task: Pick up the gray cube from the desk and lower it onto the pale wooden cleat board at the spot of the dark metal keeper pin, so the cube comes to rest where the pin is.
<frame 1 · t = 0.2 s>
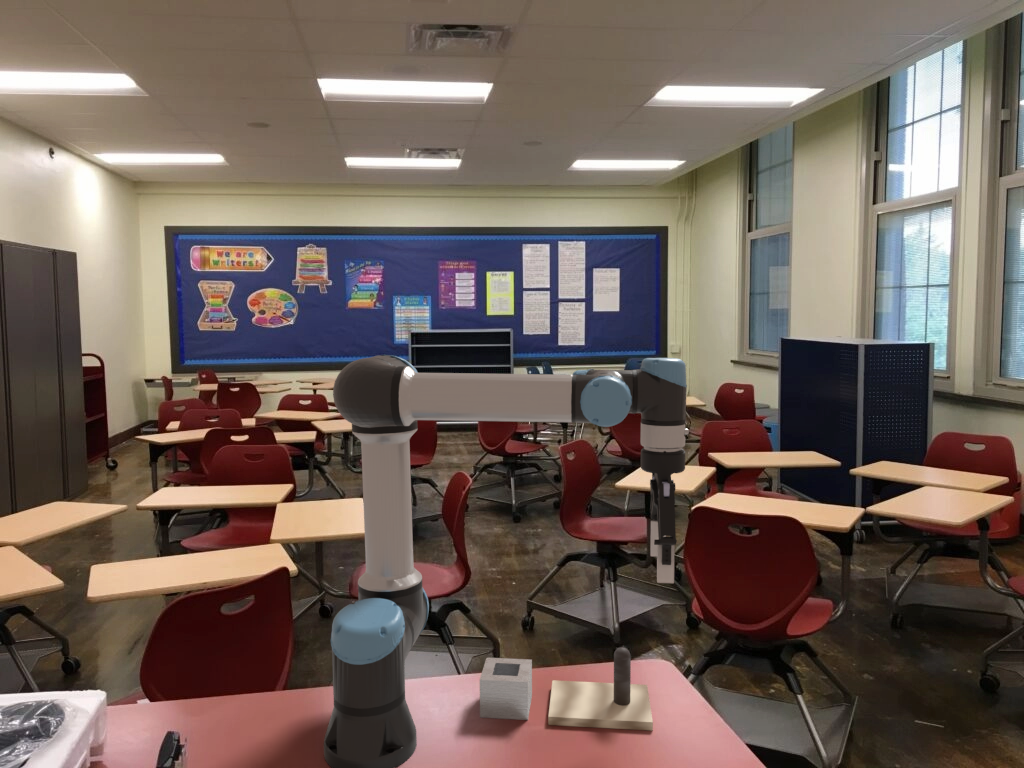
hand: (661, 568, 126), 27 cm above the table, tool pointing down, fingers open, 13 cm apart
gray cube: (506, 706, 133), on the table
cleat board: (599, 707, 132), on the table
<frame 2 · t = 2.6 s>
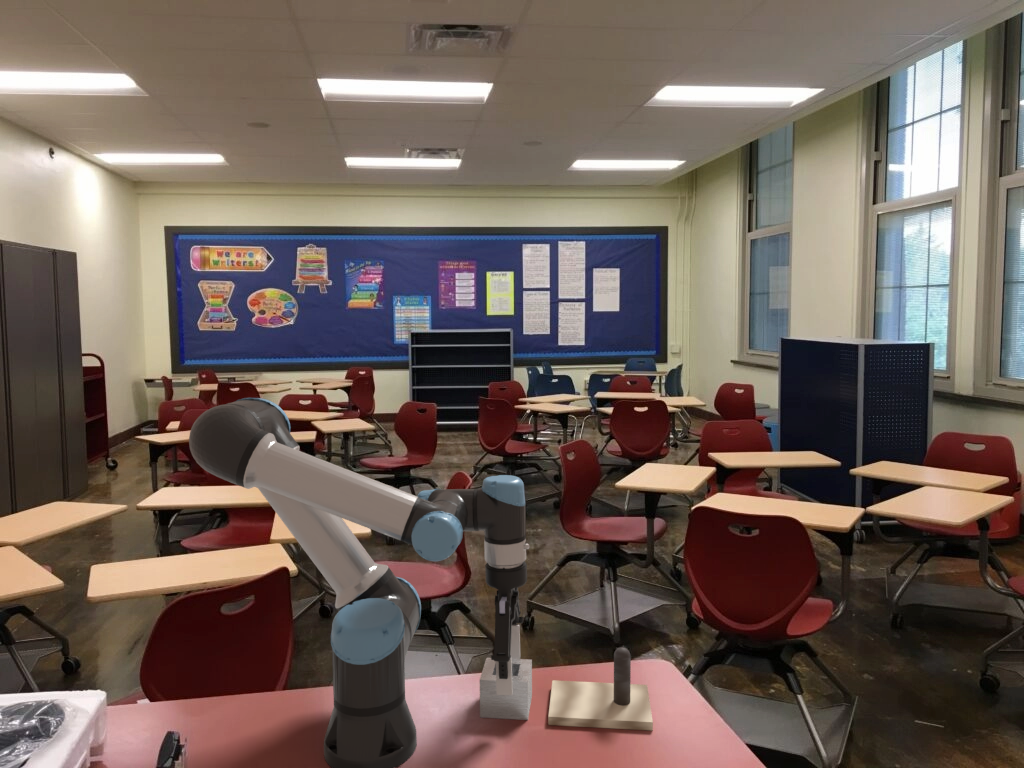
hand: (509, 675, 132), 6 cm above the table, tool pointing down, fingers open, 13 cm apart
nothing on the table moved.
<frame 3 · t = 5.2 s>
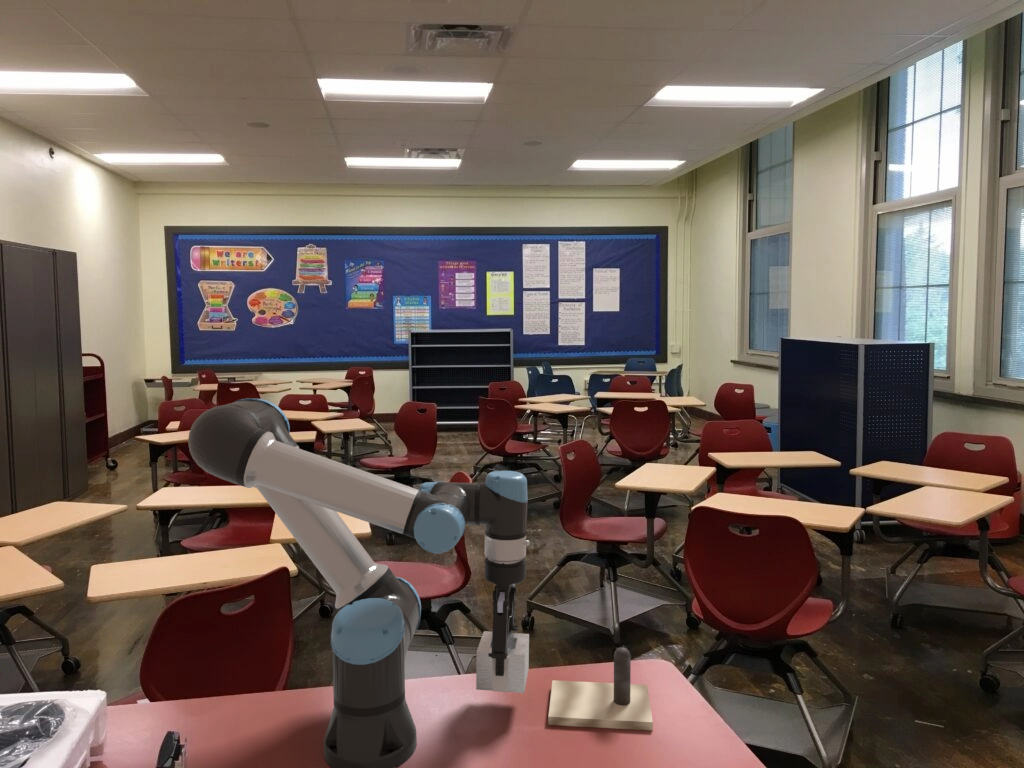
hand: (503, 677, 132), 5 cm above the table, tool pointing down, fingers closed on gray cube, 9 cm apart
gray cube: (503, 679, 132), point 5 cm above the table, touching gripper
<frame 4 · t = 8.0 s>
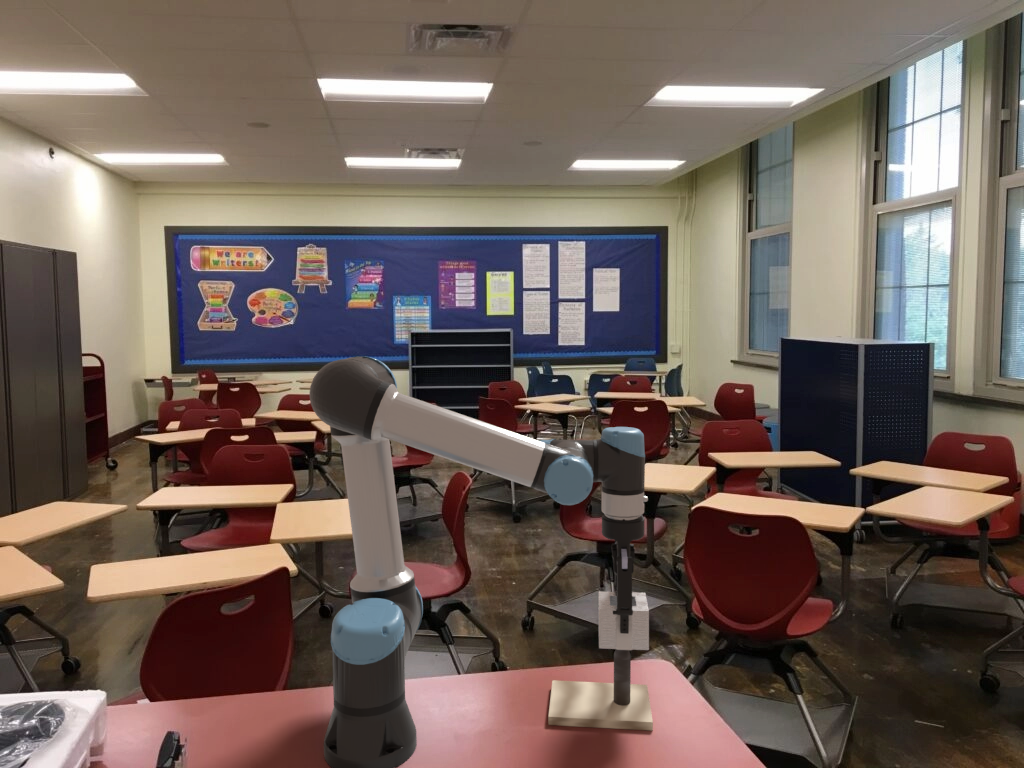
hand: (622, 637, 130), 14 cm above the table, tool pointing down, fingers closed on gray cube, 9 cm apart
gray cube: (622, 638, 130), point 13 cm above the table, touching gripper
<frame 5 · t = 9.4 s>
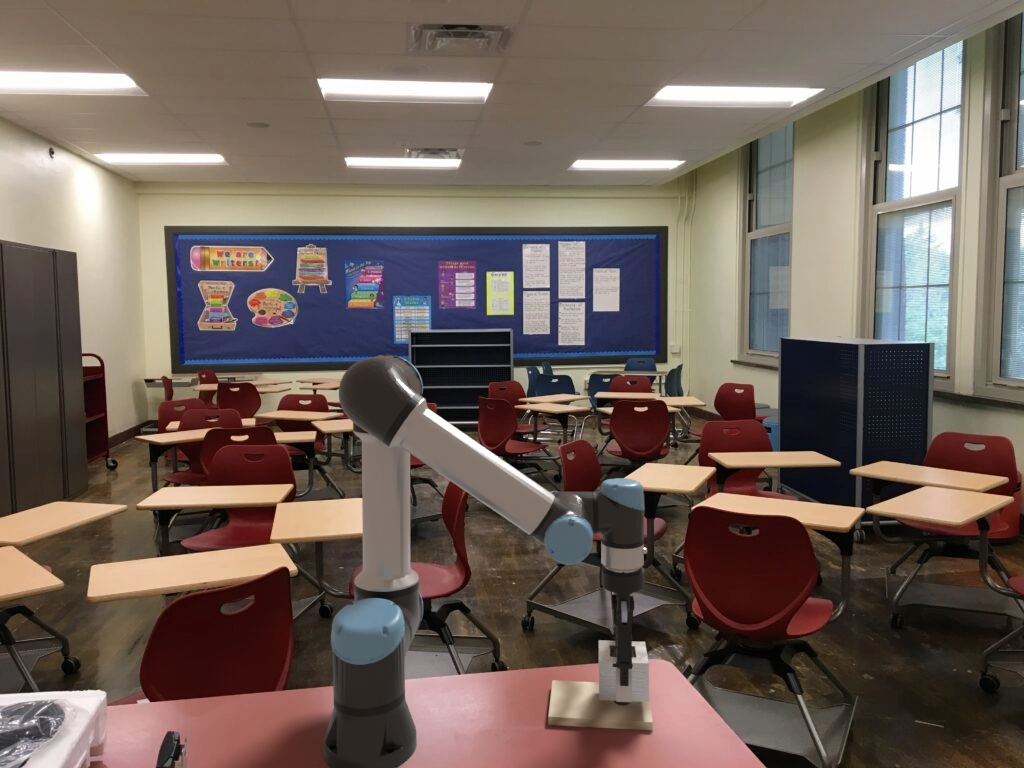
hand: (622, 687, 131), 4 cm above the table, tool pointing down, fingers closed on gray cube, 9 cm apart
gray cube: (622, 688, 131), point 4 cm above the table, touching gripper
when the fingers open (2 cm above the table, at t = 10.7 s): gray cube stays where it is, resting on cleat board.
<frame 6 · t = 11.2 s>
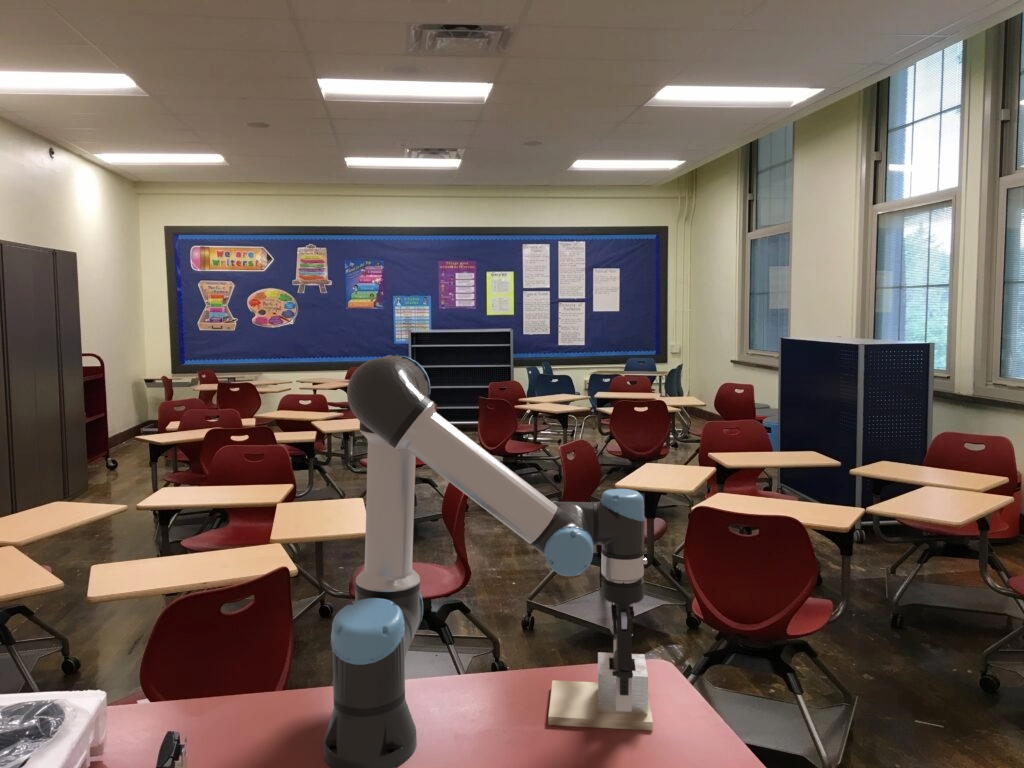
hand: (622, 690, 131), 4 cm above the table, tool pointing down, fingers open, 13 cm apart
gray cube: (621, 701, 131), point 1 cm above the table, touching cleat board
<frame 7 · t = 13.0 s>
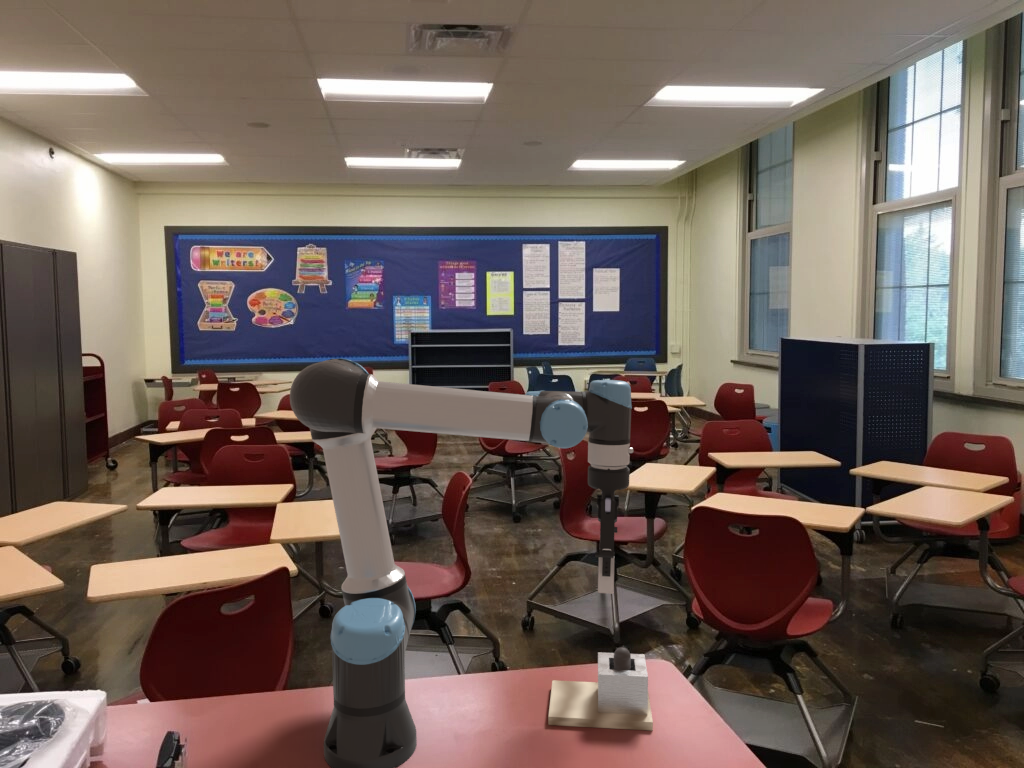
hand: (606, 579, 133), 23 cm above the table, tool pointing down, fingers open, 13 cm apart
nothing on the table moved.
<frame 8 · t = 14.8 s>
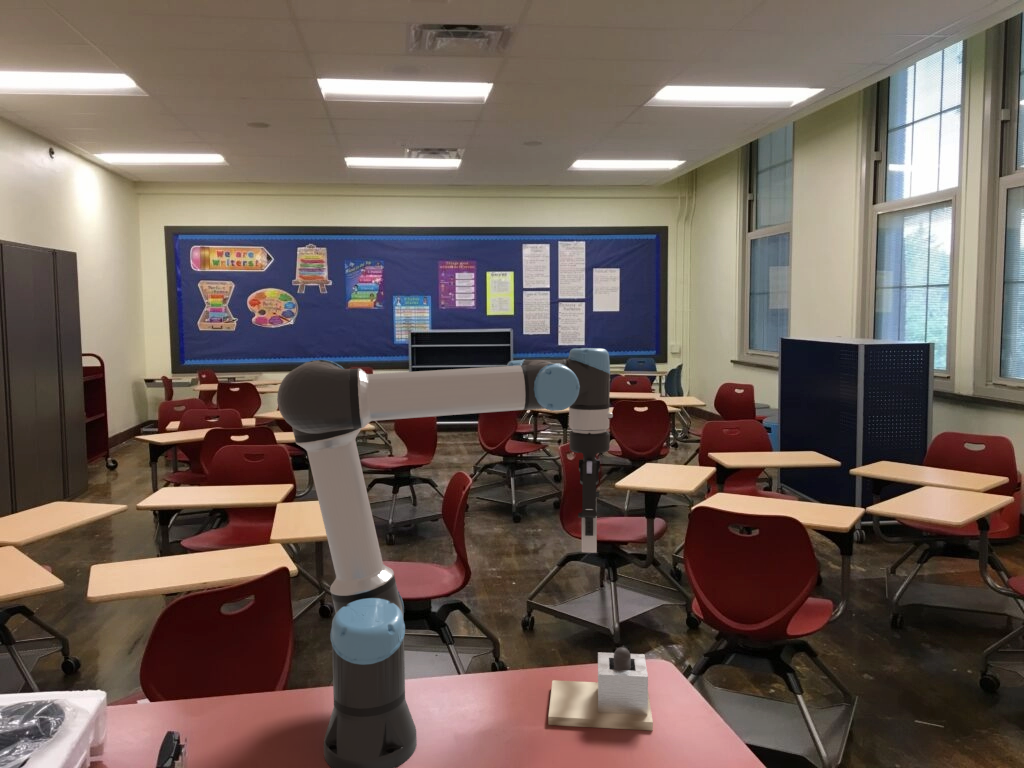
hand: (589, 540, 138), 29 cm above the table, tool pointing down, fingers open, 13 cm apart
nothing on the table moved.
at the end: gray cube 0.0 cm from the target spot on the cleat board, point 1.5 cm above the cleat board's base; gray cube tilted 0°; the gripper is holding nothing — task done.
